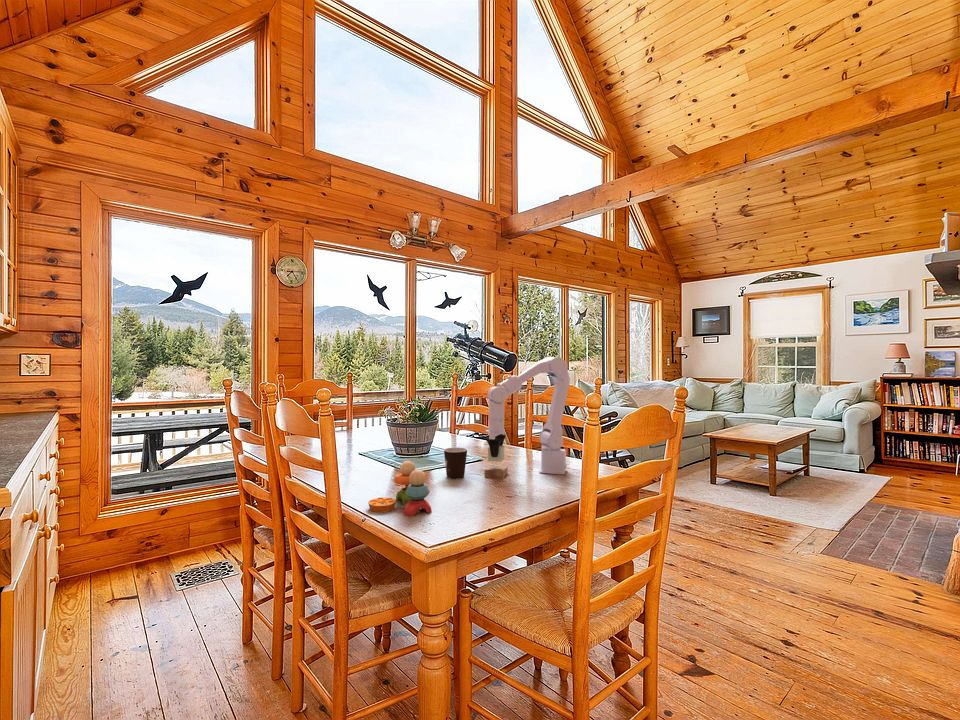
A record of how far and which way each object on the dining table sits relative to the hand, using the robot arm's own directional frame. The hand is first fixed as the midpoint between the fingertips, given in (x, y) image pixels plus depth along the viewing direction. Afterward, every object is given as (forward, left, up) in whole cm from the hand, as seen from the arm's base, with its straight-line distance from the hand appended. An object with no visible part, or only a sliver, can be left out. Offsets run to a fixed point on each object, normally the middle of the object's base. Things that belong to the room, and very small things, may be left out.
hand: (496, 455), depth 181 cm
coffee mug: (+14, +5, -8) cm, 17 cm away
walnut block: (0, 0, -8) cm, 8 cm away
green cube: (0, 0, -2) cm, 2 cm away
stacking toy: (+18, +44, -8) cm, 49 cm away
